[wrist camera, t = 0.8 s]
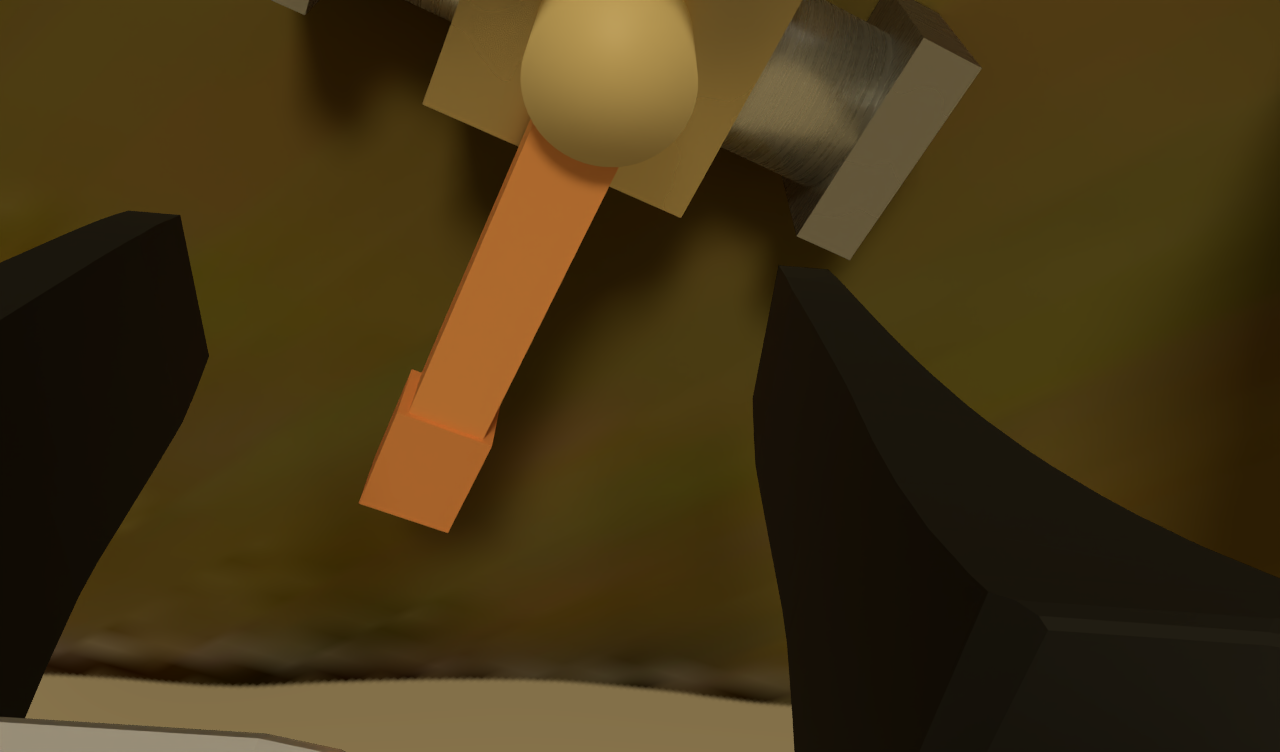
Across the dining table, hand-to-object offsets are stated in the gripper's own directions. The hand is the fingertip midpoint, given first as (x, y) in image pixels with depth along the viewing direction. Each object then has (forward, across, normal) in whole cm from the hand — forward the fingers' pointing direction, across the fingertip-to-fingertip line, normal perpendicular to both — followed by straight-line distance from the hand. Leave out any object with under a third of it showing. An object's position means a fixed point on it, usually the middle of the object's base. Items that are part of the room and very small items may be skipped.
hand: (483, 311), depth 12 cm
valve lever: (+6, 0, +3) cm, 6 cm away
